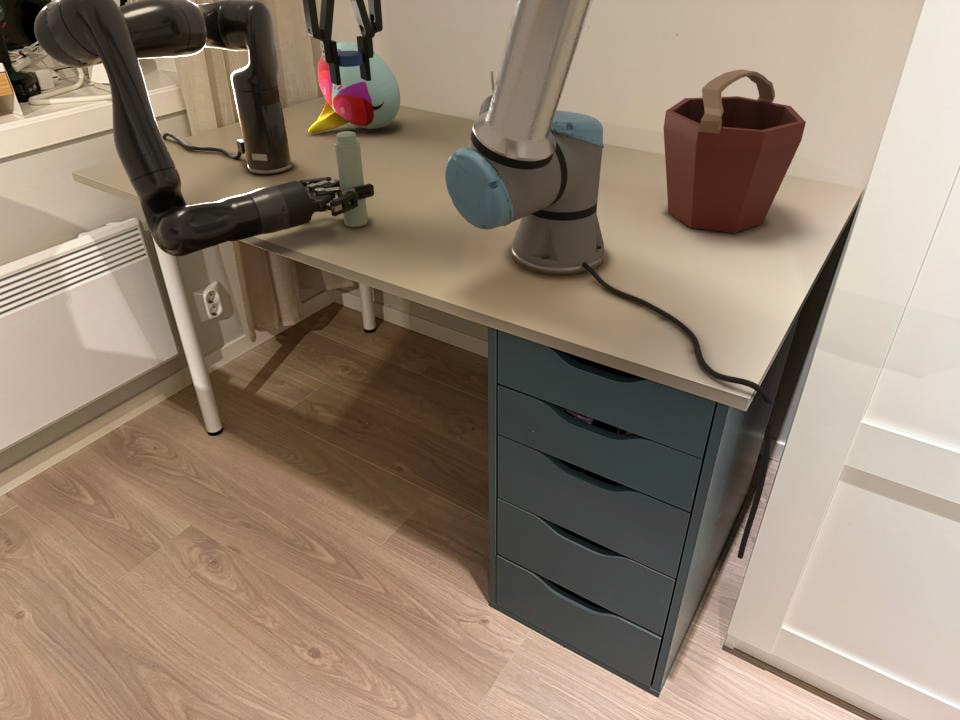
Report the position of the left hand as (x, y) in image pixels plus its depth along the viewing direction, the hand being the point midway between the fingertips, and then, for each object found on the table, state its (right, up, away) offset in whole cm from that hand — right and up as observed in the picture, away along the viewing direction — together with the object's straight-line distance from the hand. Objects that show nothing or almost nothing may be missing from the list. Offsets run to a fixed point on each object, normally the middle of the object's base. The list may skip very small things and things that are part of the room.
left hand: (365, 185), depth 128 cm
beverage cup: (+24, +10, +25) cm, 36 cm away
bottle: (-2, -6, +2) cm, 7 cm away
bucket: (+64, -4, +4) cm, 65 cm away
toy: (-11, +28, +52) cm, 60 cm away
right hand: (-1, +15, -11) cm, 18 cm away
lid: (-1, +18, -13) cm, 22 cm away
